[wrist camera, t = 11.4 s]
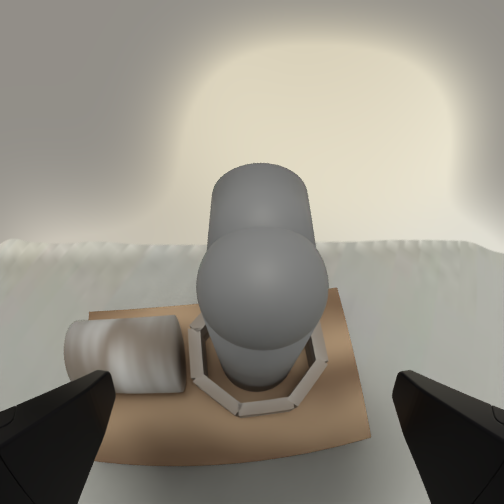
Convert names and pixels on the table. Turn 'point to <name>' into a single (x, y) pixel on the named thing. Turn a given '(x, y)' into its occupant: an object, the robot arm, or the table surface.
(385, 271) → the table surface
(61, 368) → the table surface
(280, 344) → the elbow
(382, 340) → the table surface
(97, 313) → the board
